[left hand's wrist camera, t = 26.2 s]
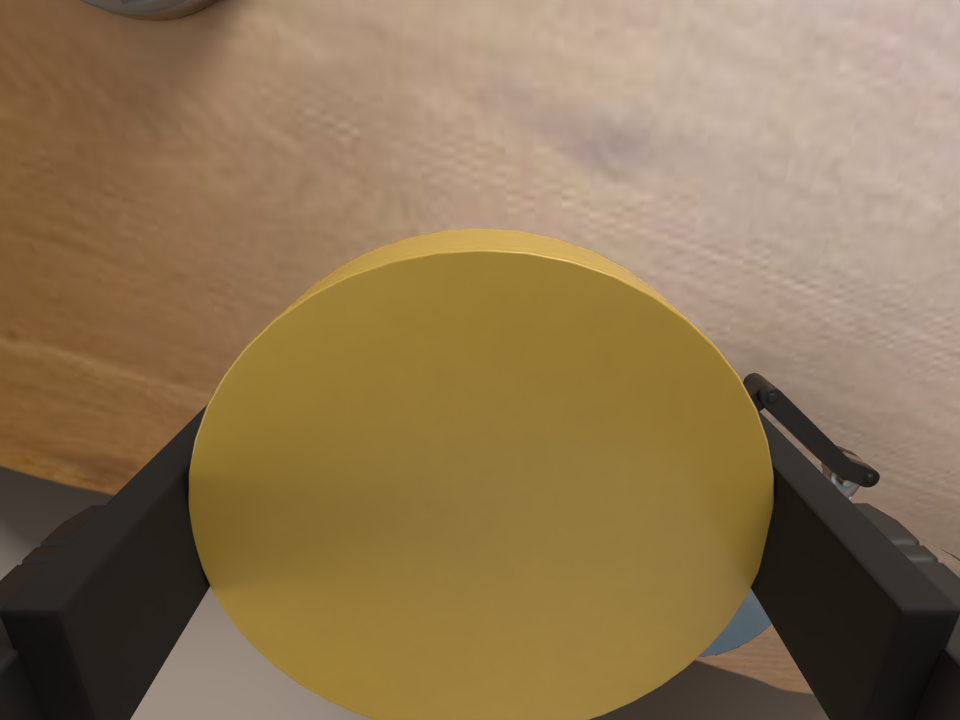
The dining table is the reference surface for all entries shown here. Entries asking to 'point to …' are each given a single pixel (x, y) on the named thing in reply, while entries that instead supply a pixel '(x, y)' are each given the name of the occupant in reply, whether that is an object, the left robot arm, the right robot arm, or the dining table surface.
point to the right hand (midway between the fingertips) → (581, 443)
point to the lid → (481, 484)
